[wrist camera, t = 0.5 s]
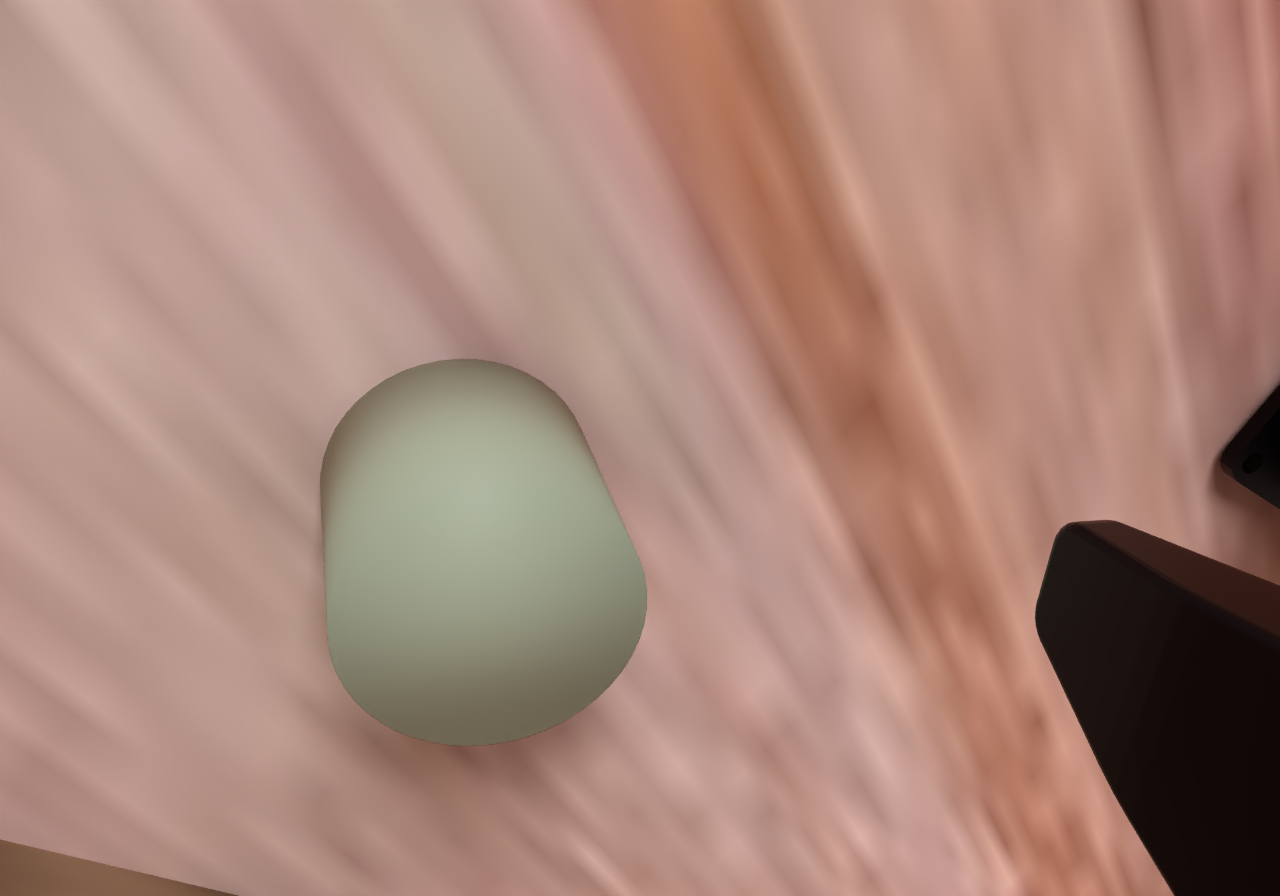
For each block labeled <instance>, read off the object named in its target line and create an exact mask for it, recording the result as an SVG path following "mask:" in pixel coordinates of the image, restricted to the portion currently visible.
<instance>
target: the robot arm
mask: <svg viewBox="0 0 1280 896" xmlns="http://www.w3.org/2000/svg"><path fill="white" fill-rule="evenodd" d="M1246 458H1248V459H1247V460H1246V461H1245V459H1246ZM1244 461H1245V462H1244ZM1220 462H1221V468H1222V469H1223V470H1224V472H1225V473H1227V474H1228V475H1229V476H1231V477H1232V478H1233V479H1235V480H1236V481H1237V482H1239V483H1240V484H1242V485H1243V486H1245V487H1247V488H1248V489H1250V490H1251V491H1253V492H1254V493H1256V494H1257V495H1259V496H1260V497H1262V498H1264V499H1265V500H1267V501H1268V502H1270V503H1271V504H1273V505H1274V506H1276V507H1277V508H1279V509H1280V385H1279V386H1278V388H1277V389H1276V390H1275V391H1274V392H1273V393H1272V395H1271V396H1270V397H1269V398H1268V399H1267V400H1266V402H1265V403H1264V404H1263V405H1262V406H1261V407H1260V409H1259V410H1258V411H1257V412H1256V413H1255V414H1254V416H1253V417H1252V418H1251V419H1250V420H1249V421H1248V423H1247V424H1246V425H1245V426H1244V427H1243V428H1242V430H1241V431H1240V432H1239V433H1238V434H1237V435H1236V437H1235V438H1234V439H1233V440H1232V441H1231V442H1230V444H1229V445H1228V446H1227V447H1226V449H1225V451H1224V452H1223V454H1222V457H1221V461H1220ZM1035 621H1036V628H1037V632H1038V635H1039V638H1040V641H1041V643H1042V645H1043V647H1044V649H1045V651H1046V653H1047V656H1048V658H1049V660H1050V662H1051V664H1052V666H1053V668H1054V670H1055V673H1056V675H1057V677H1058V679H1059V681H1060V683H1061V685H1062V687H1063V689H1064V692H1065V694H1066V696H1067V698H1068V700H1069V702H1070V704H1071V706H1072V709H1073V711H1074V713H1075V715H1076V717H1077V719H1078V721H1079V723H1080V725H1081V728H1082V730H1083V732H1084V734H1085V736H1086V738H1087V740H1088V742H1089V745H1090V747H1091V749H1092V751H1093V753H1094V755H1095V757H1096V759H1097V761H1098V764H1099V766H1100V768H1101V770H1102V772H1103V774H1104V776H1105V778H1106V780H1107V782H1108V784H1109V786H1110V787H1111V789H1112V791H1113V793H1114V795H1115V797H1116V799H1117V800H1118V802H1119V804H1120V806H1121V807H1122V809H1123V811H1124V813H1125V814H1126V816H1127V818H1128V820H1129V821H1130V823H1131V825H1132V826H1133V828H1134V830H1135V831H1136V833H1137V835H1138V836H1139V838H1140V840H1141V841H1142V843H1143V845H1144V846H1145V848H1146V850H1147V851H1148V853H1149V855H1150V856H1151V858H1152V860H1153V861H1154V863H1155V865H1156V866H1157V868H1158V870H1159V871H1160V873H1161V875H1162V876H1163V878H1164V879H1165V881H1166V883H1167V884H1168V886H1169V888H1170V889H1171V891H1172V893H1173V894H1174V896H1280V586H1279V585H1276V584H1274V583H1271V582H1269V581H1266V580H1264V579H1261V578H1259V577H1256V576H1254V575H1251V574H1249V573H1246V572H1244V571H1241V570H1239V569H1236V568H1234V567H1231V566H1229V565H1226V564H1224V563H1221V562H1219V561H1216V560H1213V559H1211V558H1208V557H1206V556H1203V555H1201V554H1198V553H1196V552H1193V551H1191V550H1188V549H1186V548H1183V547H1181V546H1178V545H1176V544H1173V543H1171V542H1168V541H1166V540H1163V539H1161V538H1158V537H1156V536H1153V535H1151V534H1148V533H1146V532H1143V531H1140V530H1138V529H1135V528H1133V527H1130V526H1128V525H1125V524H1123V523H1120V522H1117V521H1112V520H1097V521H1080V522H1071V523H1068V524H1067V525H1065V526H1063V527H1062V528H1061V529H1060V531H1059V532H1058V534H1057V535H1056V537H1055V540H1054V543H1053V547H1052V550H1051V554H1050V557H1049V561H1048V564H1047V568H1046V572H1045V575H1044V579H1043V582H1042V586H1041V589H1040V593H1039V597H1038V600H1037V604H1036V611H1035Z"/></svg>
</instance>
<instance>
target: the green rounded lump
mask: <svg viewBox="0 0 1280 896" xmlns="http://www.w3.org/2000/svg"><path fill="white" fill-rule="evenodd" d="M320 493H321V514H322V535H323V555H324V576H325V596H326V617H327V638H328V644H329V651H330V656H331V659H332V662H333V665H334V668H335V671H336V673H337V675H338V677H339V679H340V681H341V683H342V685H343V686H344V688H345V689H346V690H347V692H348V693H349V694H350V696H351V697H352V698H353V700H354V701H355V702H356V703H357V704H358V705H359V706H360V707H361V708H362V709H364V710H365V711H366V712H367V713H368V714H369V715H371V716H372V717H374V718H375V719H376V720H378V721H379V722H380V723H382V724H384V725H386V726H388V727H390V728H391V729H393V730H395V731H397V732H400V733H402V734H405V735H408V736H410V737H413V738H416V739H420V740H424V741H428V742H432V743H438V744H445V745H455V746H479V745H492V744H498V743H503V742H509V741H513V740H517V739H521V738H524V737H528V736H531V735H534V734H536V733H539V732H542V731H544V730H547V729H549V728H551V727H553V726H555V725H557V724H559V723H561V722H563V721H565V720H567V719H569V718H570V717H572V716H573V715H575V714H577V713H578V712H580V711H581V710H583V709H584V708H585V707H587V706H588V705H589V704H590V703H592V702H593V701H594V700H596V699H597V698H598V697H599V696H600V695H601V694H602V693H603V692H604V691H605V690H606V689H607V688H608V687H609V686H610V685H611V684H612V683H613V682H614V680H615V679H616V678H617V677H618V675H619V674H620V673H621V672H622V670H623V669H624V667H625V666H626V664H627V663H628V661H629V659H630V658H631V656H632V654H633V652H634V650H635V648H636V646H637V644H638V642H639V639H640V636H641V633H642V629H643V626H644V622H645V616H646V610H647V588H646V581H645V574H644V571H643V568H642V565H641V562H640V559H639V557H638V554H637V552H636V550H635V548H634V546H633V543H632V541H631V539H630V537H629V534H628V532H627V530H626V528H625V526H624V523H623V521H622V519H621V517H620V514H619V512H618V510H617V508H616V506H615V503H614V501H613V499H612V497H611V494H610V492H609V490H608V488H607V486H606V483H605V481H604V479H603V477H602V474H601V472H600V470H599V468H598V466H597V463H596V461H595V459H594V457H593V454H592V452H591V450H590V448H589V446H588V443H587V441H586V439H585V437H584V434H583V432H582V430H581V428H580V426H579V424H578V422H577V420H576V418H575V416H574V415H573V413H572V412H571V410H570V409H569V408H568V406H567V405H566V403H565V402H564V401H563V400H562V399H561V398H560V397H559V396H558V395H557V394H556V393H555V392H554V391H553V390H552V389H550V388H549V387H548V386H547V385H545V384H544V383H543V382H541V381H540V380H538V379H536V378H535V377H533V376H531V375H529V374H528V373H525V372H523V371H521V370H518V369H516V368H513V367H511V366H507V365H504V364H500V363H496V362H491V361H484V360H477V359H452V360H442V361H436V362H432V363H427V364H423V365H419V366H416V367H413V368H410V369H408V370H405V371H402V372H400V373H398V374H396V375H394V376H392V377H390V378H388V379H386V380H385V381H383V382H382V383H380V384H378V385H377V386H375V387H374V388H372V389H371V390H370V391H369V392H367V393H366V394H365V395H364V396H363V397H361V398H360V399H359V400H358V401H357V402H356V403H355V404H354V405H353V406H352V407H351V409H350V410H349V411H348V412H347V413H346V414H345V416H344V417H343V418H342V420H341V421H340V423H339V424H338V426H337V427H336V429H335V431H334V433H333V435H332V437H331V439H330V441H329V443H328V446H327V449H326V452H325V455H324V458H323V463H322V469H321V478H320Z"/></svg>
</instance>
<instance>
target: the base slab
mask: <svg viewBox="0 0 1280 896" xmlns="http://www.w3.org/2000/svg"><path fill="white" fill-rule="evenodd" d="M0 896H237V895H233V894H229V893H224V892H220V891H216V890H212V889H207V888H203V887H199V886H195V885H190V884H186V883H182V882H178V881H174V880H169V879H165V878H161V877H157V876H152V875H148V874H144V873H140V872H135V871H131V870H127V869H123V868H118V867H114V866H110V865H106V864H101V863H97V862H93V861H89V860H84V859H80V858H76V857H72V856H67V855H63V854H59V853H55V852H50V851H46V850H42V849H38V848H33V847H29V846H25V845H21V844H16V843H12V842H8V841H4V840H0Z"/></svg>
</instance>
